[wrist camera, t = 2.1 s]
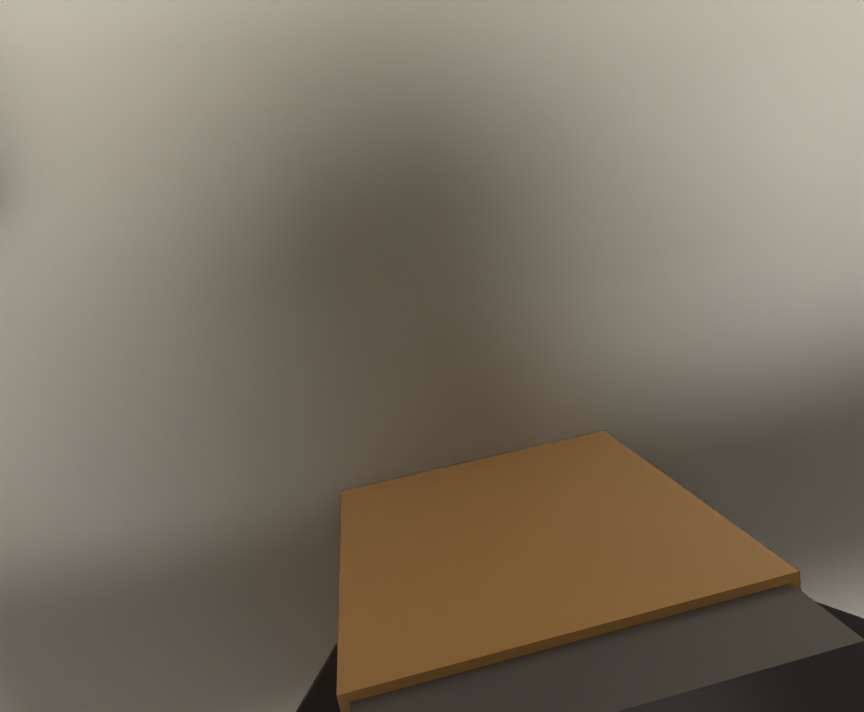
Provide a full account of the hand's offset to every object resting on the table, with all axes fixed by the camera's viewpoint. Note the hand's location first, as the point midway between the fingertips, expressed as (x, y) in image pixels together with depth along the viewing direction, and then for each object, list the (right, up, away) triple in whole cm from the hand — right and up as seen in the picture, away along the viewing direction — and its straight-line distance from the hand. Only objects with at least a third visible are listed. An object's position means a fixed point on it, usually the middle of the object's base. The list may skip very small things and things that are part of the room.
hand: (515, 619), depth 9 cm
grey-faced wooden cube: (0, 0, +1) cm, 1 cm away
